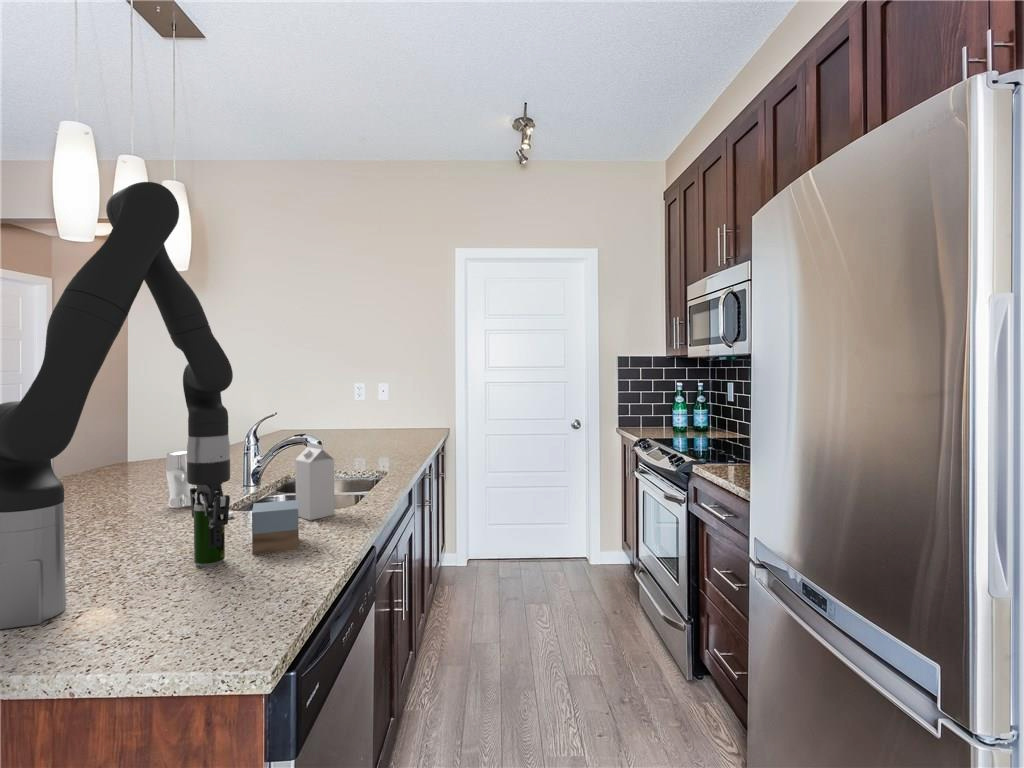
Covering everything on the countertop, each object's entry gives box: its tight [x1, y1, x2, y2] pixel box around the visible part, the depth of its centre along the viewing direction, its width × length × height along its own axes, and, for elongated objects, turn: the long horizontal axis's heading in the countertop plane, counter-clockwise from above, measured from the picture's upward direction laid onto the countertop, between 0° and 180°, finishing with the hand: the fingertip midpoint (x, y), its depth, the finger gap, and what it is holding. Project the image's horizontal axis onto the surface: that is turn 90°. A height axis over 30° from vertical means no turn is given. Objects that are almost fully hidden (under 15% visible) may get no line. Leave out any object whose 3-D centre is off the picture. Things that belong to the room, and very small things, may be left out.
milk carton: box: [295, 442, 335, 521], centre depth 147 cm, size 7×7×19 cm
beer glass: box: [165, 450, 193, 509], centre depth 159 cm, size 7×7×15 cm
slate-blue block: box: [251, 499, 299, 535], centre depth 122 cm, size 9×9×4 cm
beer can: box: [193, 503, 226, 568], centre depth 111 cm, size 5×5×12 cm
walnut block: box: [251, 528, 300, 555], centre depth 122 cm, size 9×9×4 cm
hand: (209, 542), depth 111 cm, fingers closed on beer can, 5 cm apart
